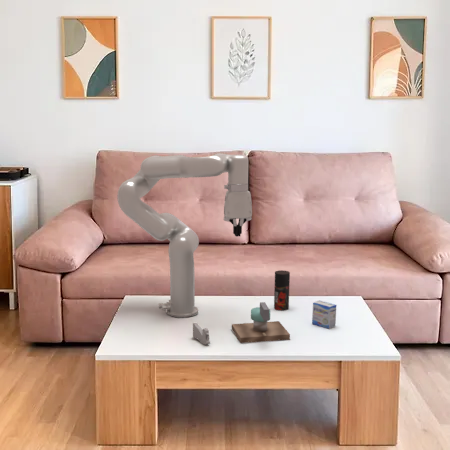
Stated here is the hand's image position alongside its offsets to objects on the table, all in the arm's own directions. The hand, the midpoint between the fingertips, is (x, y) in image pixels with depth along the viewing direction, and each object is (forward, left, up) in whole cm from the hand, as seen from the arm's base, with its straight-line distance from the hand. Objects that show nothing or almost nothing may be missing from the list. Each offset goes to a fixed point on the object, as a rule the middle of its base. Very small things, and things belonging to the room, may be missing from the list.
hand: (237, 235), depth 262 cm
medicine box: (+30, -16, -32) cm, 47 cm away
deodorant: (+20, +6, -32) cm, 38 cm away
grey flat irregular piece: (-18, -24, -32) cm, 44 cm away
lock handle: (+4, -25, -26) cm, 36 cm away
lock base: (+4, -21, -32) cm, 39 cm away
